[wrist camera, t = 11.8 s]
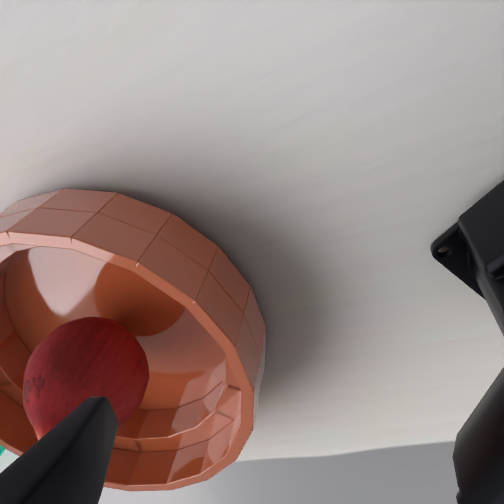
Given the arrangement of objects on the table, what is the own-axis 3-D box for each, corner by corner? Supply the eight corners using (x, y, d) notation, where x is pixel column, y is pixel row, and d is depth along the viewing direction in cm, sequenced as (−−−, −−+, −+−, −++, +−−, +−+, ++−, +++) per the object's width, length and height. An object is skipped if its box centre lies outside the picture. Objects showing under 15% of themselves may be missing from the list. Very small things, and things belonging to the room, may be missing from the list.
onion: (86, 361, 27) (3, 485, 20) (58, 285, 24) (-48, 400, 17) (175, 367, 26) (120, 500, 19) (158, 289, 23) (86, 412, 16)
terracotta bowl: (331, 319, 23) (331, 392, 19) (170, 452, 32) (145, 524, 27) (44, 111, 20) (-35, 145, 16) (-51, 324, 28) (-118, 383, 24)
